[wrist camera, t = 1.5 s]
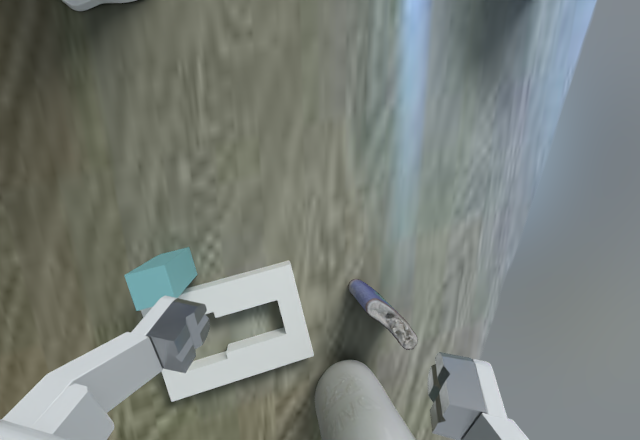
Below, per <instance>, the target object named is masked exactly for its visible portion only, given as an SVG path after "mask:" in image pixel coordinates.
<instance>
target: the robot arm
mask: <svg viewBox="0 0 640 440" xmlns="http://www.w3.org/2000/svg"><path fill="white" fill-rule="evenodd" d="M62 1H63V2H64V3H65V4H66V5H68V6H69V7H70V8H72V9H73V10H76V11H84V10H88V9H90V8H93V7H95V6H97V5H99V4H103V3H127V2H132V1H136V0H62ZM206 311H207V309H206V305H205V304H202V303H197V302H193V301H188V300H184V299H179V298H175V297H170V296H163V297H162V298H160V299H159V300H158V301H157V303H156V304H155V305H154V306H153V307H152V308H151V310H150V311H149V312H148V313H147V314H146V315H145V317H144V318H143V319H142V320H141V321H140V322H139V324H138V325H137V326H136V327H135V328H134V329H133V331H132V332H126V333H124V334H122V335H120V336H118V337H116V338H114V339H113V340H111V341H109V342H107V343H105V344H103V345H101V346H99V347H97V348H95V349H94V350H92V351H90V352H88V353H86V354H84V355H82V356H80V357H78V358H77V359H75V360H73V361H71V362H69V363H67V364H65V365H63V366H61V367H59V368H58V369H56V370H54V371H52V372H50V373H48V374H46V375H45V376H44V377H43V379H42V380H41V381H40V382H39V383H38V384H37V385H36V386H35V387H34V388H33V389H32V390H31V391H30V392H29V393H28V394H27V395H26V396H25V397H24V398H23V399H22V400H21V401H20V402H19V403H18V404H17V405H16V406H15V407H14V408H13V409H12V410H11V411H10V412H9V413H8V414H7V415H6V416H5V417H4V418H3V419H0V440H107V438H108V437H109V435H110V434H111V432H112V431H113V429H114V423H113V421H112V420H111V419H110V417H109V416H108V415H107V412H109V411H110V410H111V409H112V408H114V407H115V406H116V405H118V404H119V403H120V402H122V401H123V400H124V399H126V398H127V397H128V396H130V395H131V394H132V393H133V392H135V391H136V390H137V389H139V388H140V387H141V386H143V385H144V384H145V383H147V382H148V381H149V380H151V379H152V378H153V377H154V376H156V375H157V374H158V373H160V372H161V371H162V370H163V369H167V370H172V371H177V372H182V373H186V372H187V370H188V368H189V367H190V365H191V363H192V362H193V360H194V358H195V357H196V351H195V349H196V348H198V347H199V346H201V345H203V343H204V341H205V340H206V338H207V335H208V332H209V329H210V321H209V318H208V317H207V316H206V315H205V313H206ZM435 361H436V364H435V365H432V366H431V368H430V371H429V376H428V395H429V397H430V398H431V400H432V401H433V405H432V407H431V409H430V416H431V425H432V433H434V434H438V435H442V436H445V437H449V438H453V439H456V440H529V439H528V438H527V436H526V435H525V434H524V433H523V432H522V430H521V429H520V428H519V427H518V426H517V424H516V423H515V422H514V421H513V420H511V419H508V418H507V415H506V412H505V409H504V405H503V402H502V399H501V395H500V392H499V388H498V385H497V382H496V378H495V375H494V372H493V369H492V366H491V365H490V363H489V362H486V361H481V360H476V359H471V358H468V357H463V356H458V355H452V354H447V353H442V352H439V353H437V355H436V357H435ZM162 368H163V369H162Z"/></svg>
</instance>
